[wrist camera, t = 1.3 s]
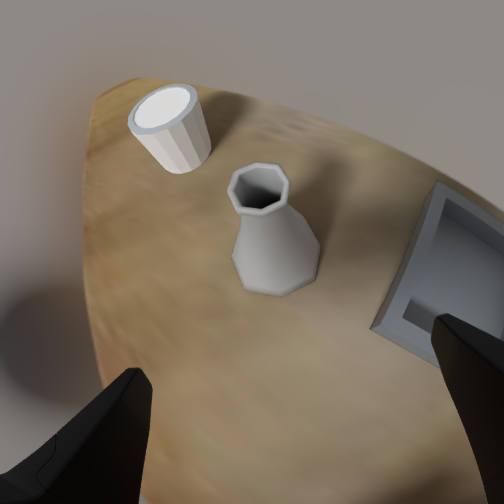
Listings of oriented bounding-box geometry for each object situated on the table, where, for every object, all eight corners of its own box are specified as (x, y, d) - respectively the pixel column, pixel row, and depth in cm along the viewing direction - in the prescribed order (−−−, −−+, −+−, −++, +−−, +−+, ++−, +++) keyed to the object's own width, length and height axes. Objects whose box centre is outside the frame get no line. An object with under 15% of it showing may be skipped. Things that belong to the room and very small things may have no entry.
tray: (484, 393, 16) (504, 395, 13) (369, 329, 20) (379, 325, 17) (523, 264, 19) (540, 253, 16) (426, 197, 23) (437, 180, 20)
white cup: (225, 160, 27) (205, 110, 21) (162, 189, 28) (129, 146, 21) (207, 120, 30) (188, 73, 24) (152, 145, 30) (125, 104, 24)
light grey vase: (229, 220, 25) (191, 146, 16) (313, 208, 24) (315, 125, 15) (235, 303, 23) (188, 264, 13) (327, 291, 22) (346, 243, 12)
